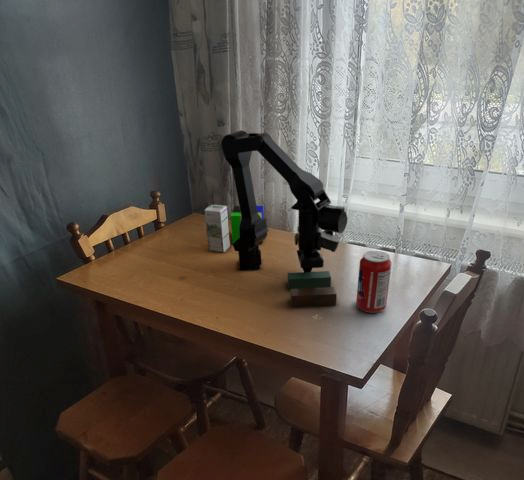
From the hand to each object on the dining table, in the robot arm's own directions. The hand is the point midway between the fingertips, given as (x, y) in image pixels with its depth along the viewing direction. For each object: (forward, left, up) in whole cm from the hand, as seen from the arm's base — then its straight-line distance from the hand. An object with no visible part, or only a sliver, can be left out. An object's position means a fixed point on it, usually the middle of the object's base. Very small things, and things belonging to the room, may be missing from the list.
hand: (307, 276), depth 144 cm
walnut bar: (0, -13, -1) cm, 13 cm away
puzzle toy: (-17, +34, -2) cm, 38 cm away
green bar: (0, -3, -1) cm, 4 cm away
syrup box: (-27, +26, -2) cm, 37 cm away
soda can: (+15, -17, -2) cm, 23 cm away
